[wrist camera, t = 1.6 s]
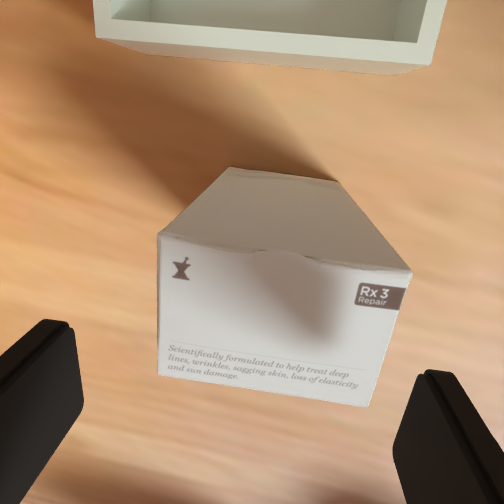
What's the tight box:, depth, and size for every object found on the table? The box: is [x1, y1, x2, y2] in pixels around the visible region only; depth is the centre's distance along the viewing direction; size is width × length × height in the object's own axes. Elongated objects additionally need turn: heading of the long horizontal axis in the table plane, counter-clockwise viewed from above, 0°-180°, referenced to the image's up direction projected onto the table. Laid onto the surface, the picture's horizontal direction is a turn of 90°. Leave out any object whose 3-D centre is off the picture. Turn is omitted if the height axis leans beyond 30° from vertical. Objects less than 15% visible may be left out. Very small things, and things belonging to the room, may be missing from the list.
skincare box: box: [157, 167, 413, 407], centre depth 18 cm, size 8×6×15 cm
